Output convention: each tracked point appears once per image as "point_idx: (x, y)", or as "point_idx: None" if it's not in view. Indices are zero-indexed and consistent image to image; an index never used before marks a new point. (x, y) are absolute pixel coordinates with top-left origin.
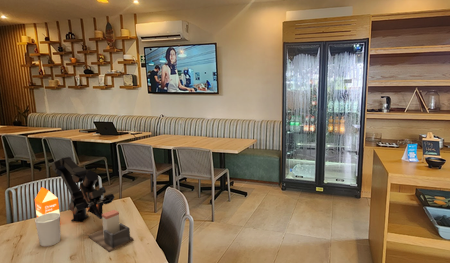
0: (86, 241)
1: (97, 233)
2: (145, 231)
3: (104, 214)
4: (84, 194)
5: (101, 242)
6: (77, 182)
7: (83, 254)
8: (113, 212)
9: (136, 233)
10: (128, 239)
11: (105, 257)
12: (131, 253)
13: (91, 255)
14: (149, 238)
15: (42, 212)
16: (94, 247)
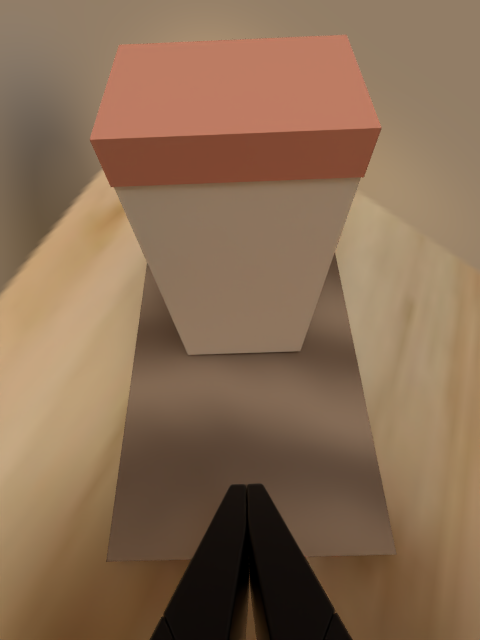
0: (421, 477)
1: (304, 507)
2: (32, 263)
3: (340, 95)
4: None
5: (333, 322)
6: None
7: (470, 307)
8: (181, 72)
9: (83, 283)
10: None
11: (359, 200)
12: None
13: (423, 264)
14: (89, 191)
15: None
16: (384, 332)
